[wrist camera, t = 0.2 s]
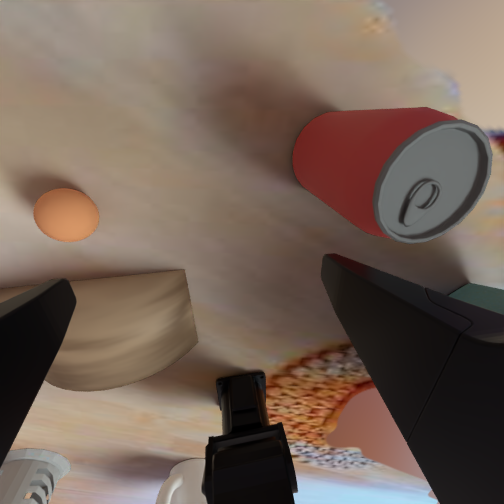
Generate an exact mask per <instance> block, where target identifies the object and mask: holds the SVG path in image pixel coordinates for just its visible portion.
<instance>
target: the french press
mask: <svg viewBox="0 0 504 504" xmlns="http://www.w3.org/2000/svg"><path fill="white" fill-rule="evenodd" d="M70 467H71V465H70V463H69V461H68V460H67V458H65V457H63V456H62V455H60V454H58V453H55V452H51V451H48V450H44V449H20V450H12V451H9V452H8V454H7V456H6V458H5V460H4V462H3V464H2V466H1V468H0V504H48V503H49V501H50V498H51V495H52V493H53V491H54V489H55V486H56V484H57V481H58V480H59V479H61V478H62V477H63V476H65V475H66V474H67V473H68V472H69V470H70ZM26 493H32V495H31V497H30V499H24V497H25V495H26ZM47 494H49V499H48V500H46V496H47Z"/></svg>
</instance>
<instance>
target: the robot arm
mask: <svg viewBox="0 0 504 504" xmlns="http://www.w3.org/2000/svg"><path fill="white" fill-rule="evenodd" d="M321 279H322V281H323V284H324V286H325V289H326V291H327V294H328V296H329V299H330V301H331V304H332V306H333V308H334V311H335V313H336V315H337V317H338V319H339V320H340V322H341V324H342V326H343V328H344V329H345V331H346V333H347V335H348V337H349V339H350V340H351V342H352V344H353V346H354V348H355V349H356V351H357V353H358V355H359V357H360V359H361V360H362V362H363V364H364V366H365V368H366V370H367V371H368V373H369V375H370V377H371V379H372V380H373V382H374V384H375V386H376V388H377V390H378V391H379V393H380V395H381V397H382V399H383V400H384V402H385V404H386V406H387V408H388V410H389V411H390V413H391V415H392V417H393V419H394V421H395V422H396V424H397V426H398V428H399V430H400V431H401V433H402V435H403V437H404V439H405V440H406V442H407V445H408V446H409V448H410V450H411V452H412V454H413V456H414V457H415V459H416V461H417V463H418V464H419V467H420V468H421V470H422V472H423V474H424V476H425V477H426V479H427V481H428V483H429V485H430V487H431V488H432V490H433V492H434V494H435V495H436V497H437V499H438V501H439V503H440V504H504V315H503V314H500V313H497V312H494V311H491V310H488V309H485V308H482V307H479V306H476V305H473V304H470V303H467V302H464V301H461V300H458V299H455V298H452V297H450V296H447V295H444V294H441V293H439V292H436V291H433V290H431V289H428V288H425V289H424V287H423V286H420V285H417V284H415V283H412V282H409V281H407V280H404V279H401V278H399V277H396V276H393V275H391V274H388V273H385V272H383V271H380V270H378V269H375V268H372V267H370V266H367V265H364V264H362V263H359V262H356V261H354V260H351V259H348V258H346V257H343V256H340V255H338V254H334V253H333V254H325V255H324V256H323V260H322V268H321ZM76 303H77V300H76V296H75V294H74V291H73V289H72V287H71V285H70V282H69V281H68V280H67V279H65V278H60V279H52V280H49V281H47V282H45V283H43V284H41V285H38V286H36V287H34V288H32V289H30V290H27V291H25V292H23V293H21V294H19V295H17V296H14V297H12V298H10V299H8V300H6V301H4V302H1V303H0V468H1V466H2V464H3V462H4V460H5V458H6V456H7V454H8V452H9V450H10V448H11V446H12V444H13V442H14V440H15V438H16V436H17V434H18V432H19V430H20V428H21V426H22V424H23V422H24V420H25V418H26V416H27V414H28V412H29V410H30V408H31V406H32V404H33V402H34V400H35V398H36V396H37V394H38V392H39V390H40V388H41V386H42V384H43V382H44V380H45V377H46V375H47V373H48V371H49V369H50V367H51V365H52V363H53V361H54V359H55V357H56V355H57V353H58V351H59V349H60V347H61V345H62V342H63V340H64V337H65V335H66V332H67V329H68V326H69V324H70V321H71V318H72V315H73V313H74V310H75V307H76ZM216 386H217V393H218V399H219V405H220V410H221V411H222V429H223V435H221V436H216V437H214V436H211V437H209V441H208V445H207V446H206V452H205V468H204V474H203V479H202V485H201V491H202V494H203V495H204V496H205V497H206V501H207V504H295V503H294V497H293V493H297V492H298V488H297V481H296V475H295V470H294V465H293V461H292V457H291V453H290V449H289V446H288V442H287V439H286V435H285V432H284V428H283V424H282V422H279V423H277V424H274V425H270V424H269V419H268V414H267V408H266V376H265V373H264V372H259V373H252V374H246V375H239V376H233V377H226V378H219V379H217V380H216Z"/></svg>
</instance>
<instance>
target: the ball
mask: <svg viewBox="0 0 504 504" xmlns="http://www.w3.org/2000/svg"><path fill="white" fill-rule="evenodd" d="M33 214H34V220H35V222H36V224H37V226H38V227H39V229H40V230H41V231H42V232H43V233H44V234H46V235H47V236H49V237H51V238H53V239H55V240H58V241H63V242H75V241H79V240H82V239H85V238H87V237H88V236H90V235H91V234H92V233H93V232H94V231H95V229H96V228H97V225H98V222H99V212H98V209H97V207H96V205H95V203H94V202H93V201H92V200H91V199H90V198H89V197H88V196H87V195H85V194H83V193H82V192H79V191H77V190H73V189H67V188H60V189H54V190H51V191H48V192H46V193H45V194H43V195H42V196H41V197H40V198H39V199H38V200H37V202H36V204H35V206H34V213H33Z"/></svg>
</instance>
